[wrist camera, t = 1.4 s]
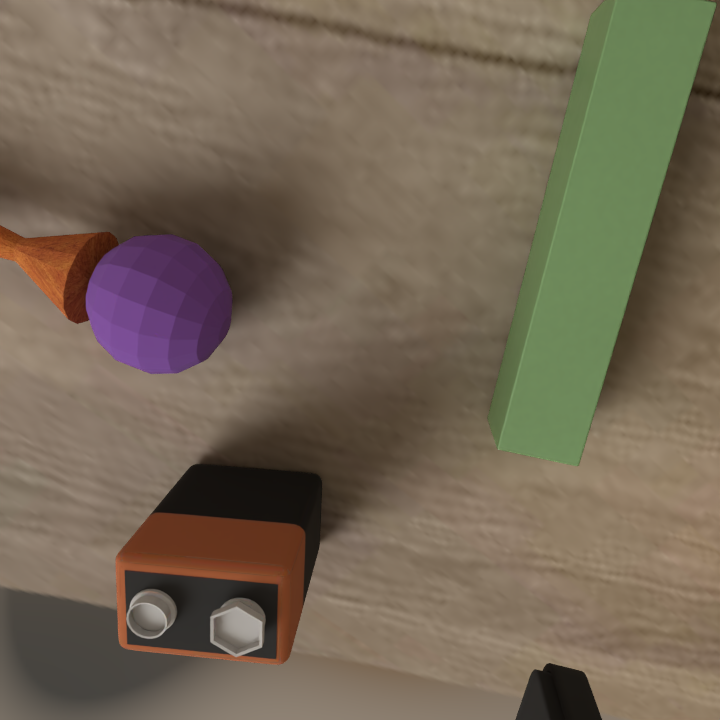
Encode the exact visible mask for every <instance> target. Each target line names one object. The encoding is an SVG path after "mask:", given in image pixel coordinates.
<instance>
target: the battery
mask: <svg viewBox="0 0 720 720" xmlns="http://www.w3.org/2000/svg"><path fill="white" fill-rule="evenodd" d="M321 498H322V480H321V478H320V477H319V476H318V475H316V474H313V473H303V472H291V471H279V470H266V469H254V468H242V467H230V466H218V465H205V464H195V465H193V466H191V467H190V468H189V469H188V470H187V471H186V473H185V474H184V475H183V476H182V477H181V479H180V480H179V481H178V482H177V483H176V485H175V486H174V487H173V488H172V489H171V491H170V492H169V493H168V494H167V495H166V497H165V498H164V499H163V500H162V501H161V503H160V504H159V505H158V506H157V507H156V509H155V510H154V511H153V512H152V513H151V515H150V516H149V517H148V518H147V519H146V521H145V522H144V523H143V524H142V525H141V527H140V528H139V529H138V530H137V531H136V533H135V534H134V535H133V536H132V537H131V539H130V540H129V541H128V542H127V543H126V545H125V546H124V547H123V548H122V549H121V551H120V552H119V553H118V555H117V556H116V585H117V610H118V633H119V634H118V635H119V643H120V645H121V646H122V647H124V648H126V649H129V650H137V651H146V652H156V653H166V654H175V655H186V656H196V657H206V658H215V659H225V660H234V661H245V662H254V663H265V664H282V663H284V662H285V661H287V659H288V658H289V656H290V653H291V649H292V646H293V642H294V638H295V635H296V631H297V627H298V624H299V620H300V616H301V613H302V609H303V605H304V602H305V598H306V594H307V591H308V587H309V583H310V580H311V576H312V572H313V569H314V565H315V561H316V558H317V554H318V550H319V544H320V522H321Z"/></svg>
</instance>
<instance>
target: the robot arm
mask: <svg viewBox="0 0 720 720" xmlns="http://www.w3.org/2000/svg"><path fill="white" fill-rule="evenodd" d="M516 720H602V718H601V716H600V713H599V710H598V707H597V704H596V702H595V699H594V696H593V693H592V690H591V688H590V685H589V682H588V679H587V677H586V675H585V673H584V672H582V671H579V670H575V669H571V668H567V667H563V666H559V665H555V664H551V663H549V664H546V666H545V667H544V669H543V671H540V670H534V671H533V672H532V673H531V676H530V678H529V681H528V684H527V687H526V690H525V693H524V696H523V699H522V702H521V705H520V708H519V711H518V714H517V717H516Z"/></svg>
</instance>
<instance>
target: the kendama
mask: <svg viewBox="0 0 720 720" xmlns="http://www.w3.org/2000/svg"><path fill="white" fill-rule="evenodd" d="M0 257H1V258H4V259H8V260H12V261H16V262H17V263H18V264H19V266H20V267H21V268H22V269H23V270H24V271H25V272H26V273H27V274H28V275H29V277H30V278H31V279H32V280H33V281H34V282H35V283H36V284H37V285H38V286H39V287H40V289H41V290H42V291H43V292H44V293H45V294H46V295H47V296H48V297H49V298H50V300H51V301H52V302H53V303H54V304H55V305H56V306H57V307H58V308H59V309H60V311H61V312H62V313H63V314H64V315H65V316H66V317H67V318H68V319H69V320H70V321H73V322H75V323H77V324H78V323H82V322H85V321H88V320H90V323H91V326H92V329H93V332H94V334H95V336H96V339H97V341H98V342H99V343H100V344H101V345H102V346H103V347H104V348H105V349H106V350H107V351H108V352H109V353H110V354H111V355H112V356H113V358H114V359H115V360H117V361H120V362H122V363H125V364H127V365H130V366H132V367H135V368H137V369H140V370H142V371H145V372H148V373H150V374H164V373H179V372H181V371H183V370H186V369H188V368H190V367H192V366H194V365H196V364H199V363H201V362H203V361H205V360H206V359H208V358H209V356H210V355H211V354H212V353H213V352H214V350H215V349H216V348H217V347H218V345H219V344H220V343H221V342H222V341H223V339H224V338H225V336H226V335H227V332H228V330H229V327H230V323H231V314H232V301H233V300H232V291H231V289H230V286H229V284H228V281H227V279H226V277H225V274H224V272H223V269H222V268H221V267H220V266H219V264H218V263H217V262H216V261H215V260H214V259H213V258H212V257H211V256H210V255H209V254H208V253H206V252H205V251H204V250H203V249H202V248H201V247H200V246H199V245H198V244H196V243H194V242H191V241H188V240H186V239H183V238H180V237H178V236H175V235H173V234H169V235H147V236H134V237H133V238H131V239H129V240H127V241H125V242H124V243H122V244H120V245H119V244H118V241H117V238H116V237H115V236H114V235H112V234H111V233H110V232H101V233H88V234H75V235H63V236H50V237H37V238H24V237H22V236H20V235H18V234H16V233H14V232H12V231H10V230H8V229H6V228H4V227H2V226H1V225H0Z"/></svg>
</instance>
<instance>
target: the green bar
mask: <svg viewBox="0 0 720 720" xmlns="http://www.w3.org/2000/svg"><path fill="white" fill-rule="evenodd" d="M716 6H717V3H716V2H712V1H706V0H605V1H604V2H603V3H602V4H601V5H600V6H599V7H598V8H597V9H596V10H595V11H594V12H593V13H592V14H591V17H590V21H589V25H588V29H587V32H586V36H585V40H584V44H583V48H582V52H581V56H580V60H579V64H578V67H577V71H576V75H575V79H574V83H573V87H572V91H571V95H570V99H569V103H568V106H567V110H566V114H565V118H564V122H563V126H562V130H561V134H560V138H559V141H558V145H557V149H556V153H555V157H554V161H553V165H552V169H551V173H550V177H549V180H548V184H547V188H546V192H545V196H544V200H543V204H542V208H541V212H540V215H539V219H538V223H537V227H536V231H535V235H534V239H533V243H532V247H531V250H530V254H529V258H528V262H527V266H526V270H525V274H524V278H523V282H522V286H521V289H520V293H519V297H518V301H517V305H516V309H515V313H514V317H513V321H512V324H511V328H510V332H509V336H508V340H507V344H506V348H505V352H504V356H503V360H502V363H501V367H500V371H499V375H498V379H497V383H496V387H495V391H494V395H493V398H492V402H491V406H490V410H489V414H488V422H489V425H490V428H491V431H492V434H493V437H494V440H495V443H496V446H497V449H498V450H503V451H507V452H512V453H517V454H522V455H526V456H531V457H536V458H540V459H545V460H550V461H555V462H559V463H564V464H569V465H574V466H579V463H580V460H581V457H582V453H583V450H584V447H585V443H586V440H587V437H588V433H589V430H590V427H591V423H592V420H593V417H594V413H595V410H596V407H597V403H598V400H599V397H600V393H601V390H602V387H603V383H604V380H605V377H606V373H607V370H608V367H609V363H610V360H611V356H612V353H613V350H614V346H615V343H616V340H617V336H618V333H619V330H620V326H621V323H622V320H623V316H624V313H625V310H626V306H627V303H628V300H629V296H630V293H631V290H632V286H633V283H634V280H635V276H636V273H637V270H638V266H639V263H640V260H641V256H642V253H643V250H644V246H645V243H646V240H647V236H648V233H649V230H650V226H651V223H652V220H653V216H654V213H655V210H656V206H657V203H658V200H659V196H660V193H661V189H662V186H663V183H664V179H665V176H666V173H667V169H668V166H669V163H670V159H671V156H672V153H673V149H674V146H675V143H676V139H677V136H678V133H679V129H680V126H681V123H682V119H683V116H684V113H685V109H686V106H687V103H688V99H689V96H690V93H691V89H692V86H693V83H694V79H695V76H696V73H697V69H698V66H699V63H700V59H701V56H702V53H703V49H704V46H705V43H706V39H707V36H708V32H709V29H710V26H711V22H712V19H713V16H714V12H715V9H716Z"/></svg>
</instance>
